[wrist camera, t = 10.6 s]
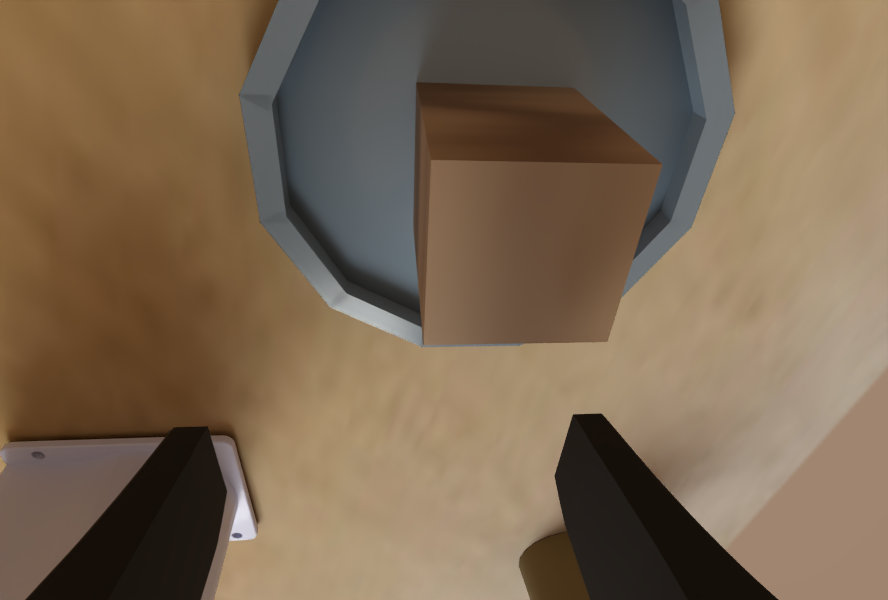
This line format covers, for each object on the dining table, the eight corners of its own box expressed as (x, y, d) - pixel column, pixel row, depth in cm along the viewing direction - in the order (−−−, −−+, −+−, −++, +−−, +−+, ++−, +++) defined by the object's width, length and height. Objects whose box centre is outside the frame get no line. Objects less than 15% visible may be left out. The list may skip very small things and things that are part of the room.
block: (412, 227, 17) (423, 345, 12) (416, 82, 15) (431, 160, 10) (546, 228, 18) (607, 341, 13) (573, 87, 15) (662, 164, 10)
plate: (286, 325, 20) (280, 349, 19) (213, -158, 12) (195, -167, 11) (633, 321, 21) (647, 343, 20) (783, -108, 13) (820, -111, 12)
